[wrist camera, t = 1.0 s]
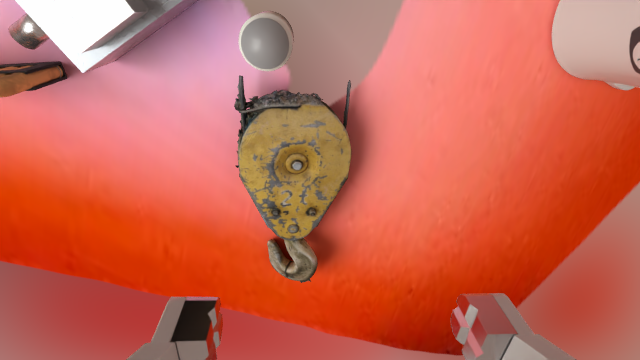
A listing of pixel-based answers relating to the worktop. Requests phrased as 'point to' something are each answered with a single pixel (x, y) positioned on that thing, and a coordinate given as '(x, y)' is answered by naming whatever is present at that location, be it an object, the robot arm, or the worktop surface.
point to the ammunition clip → (29, 76)
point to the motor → (93, 26)
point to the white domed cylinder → (266, 41)
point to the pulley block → (292, 168)
